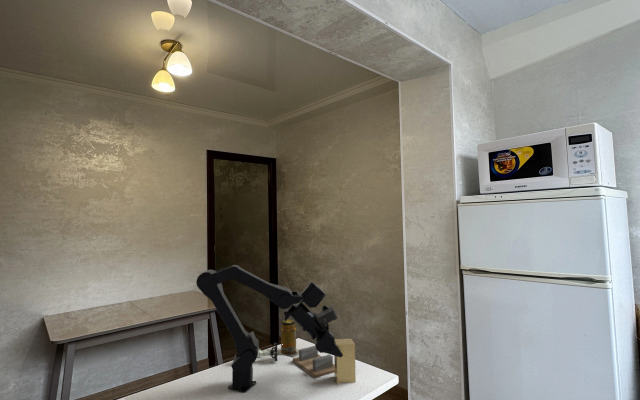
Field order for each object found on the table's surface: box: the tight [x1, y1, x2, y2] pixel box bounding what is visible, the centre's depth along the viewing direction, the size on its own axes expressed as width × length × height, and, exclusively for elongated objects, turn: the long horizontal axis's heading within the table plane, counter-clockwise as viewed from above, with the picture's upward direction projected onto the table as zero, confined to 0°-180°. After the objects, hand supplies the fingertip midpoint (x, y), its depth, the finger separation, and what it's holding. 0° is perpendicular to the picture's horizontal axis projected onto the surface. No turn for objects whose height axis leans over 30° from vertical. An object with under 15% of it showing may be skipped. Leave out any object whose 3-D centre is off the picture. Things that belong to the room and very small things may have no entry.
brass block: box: [333, 338, 357, 384], centre depth 106 cm, size 6×5×12 cm
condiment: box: [277, 319, 300, 358], centre depth 130 cm, size 7×8×12 cm
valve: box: [252, 342, 279, 366], centre depth 120 cm, size 7×7×12 cm
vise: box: [292, 345, 335, 379], centre depth 117 cm, size 16×10×4 cm, turn 32°
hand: (339, 350), depth 106 cm, fingers open, 9 cm apart
